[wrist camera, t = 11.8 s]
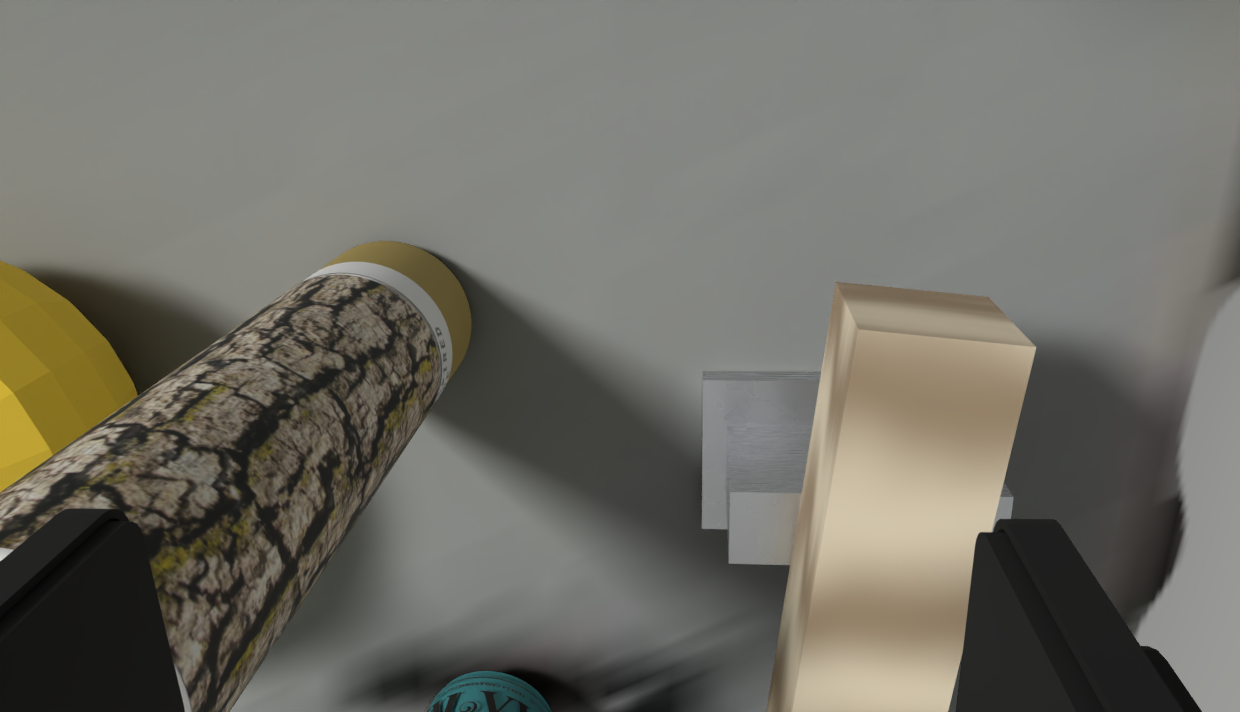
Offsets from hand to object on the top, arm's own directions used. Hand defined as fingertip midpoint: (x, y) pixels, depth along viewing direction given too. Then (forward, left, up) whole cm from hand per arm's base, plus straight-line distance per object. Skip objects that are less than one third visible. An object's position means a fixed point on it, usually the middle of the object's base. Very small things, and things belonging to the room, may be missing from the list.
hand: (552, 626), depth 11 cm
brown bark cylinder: (+6, -11, -30) cm, 32 cm away
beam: (+12, +8, -23) cm, 27 cm away
